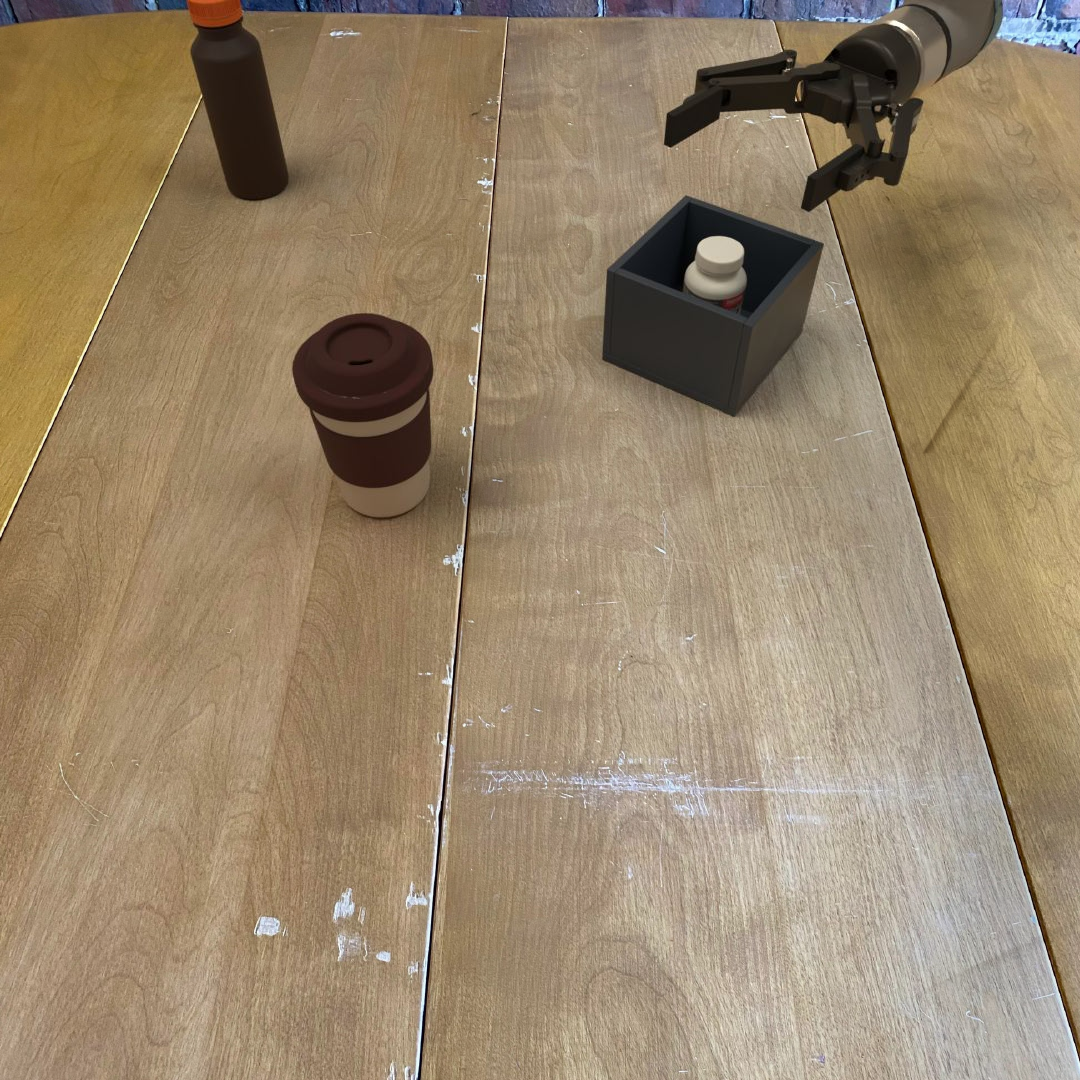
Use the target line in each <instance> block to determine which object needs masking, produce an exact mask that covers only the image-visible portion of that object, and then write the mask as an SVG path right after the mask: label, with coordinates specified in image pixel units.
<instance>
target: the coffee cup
mask: <svg viewBox="0 0 1080 1080" xmlns="http://www.w3.org/2000/svg"><path fill="white" fill-rule="evenodd" d="M291 366H292V368H291V372H292V378H293V381H294V386H295V389H296V391H297V394H298V396H299V398H300V400H301V401H302V402H303V403H304V405H305V406H307V408H308V410H309V415H310V417H311V420H312V422H313V425H314V428H315V431H316V434H317V436H318V440H319V443H320V445H321V449H322V451H323V453H324V457H325V460H326V462H327V464H328V467H329V469H330V470H331V472H333V474H334V476H335V480H336V483H337V485H338V488H339V491H340V494H341V496H342V498H343V500H344V501H345V503H346V504H347V505H348V506H349V507H350V508H351V509H352V510H354V511H355V512H357V513H359V514H361V515H363V516H368V517H372V518H392V517H397V516H400V515H403V514H405V513H407V512H409V511H411V510H413V508H415V507H417V506H418V505H419V504H420V503H421V502H422V501H423V499H424V498H425V497H426V495H427V493H428V491H429V489H430V485H431V484H430V483H431V467H430V456H431V452H432V423H431V419H432V418H431V395H430V387H431V384H432V381H433V377H434V360H433V353H432V348H431V346H430V344H429V342H428V340H427V339H426V338H425V337H424V335H423V334H422V333H421V332H419V331H418V330H417V329H415V328H414V327H413V326H412V325H409V324H407V323H404V322H402V321H400V320H396V319H393V318H390V317H387V316H385V315H383V314H378V313H370V312H359V313H351V314H347V315H346V314H345V315H344V316H340V317H338V318H335V319H332V320H331V321H329V322H327V323H326V324H325V325H323V326H322V327H320V329H318V330H317V331H316V332H314V333H313V334H311V335H310V336H309V337H308V338H307V339H306V340H304V341H303V343H302V344H301V345H300V346H299V348H298V349H297V351H296V353H295V355H294V358H293V360H292V365H291Z"/></svg>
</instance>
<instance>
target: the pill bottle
mask: <svg viewBox="0 0 1080 1080" xmlns="http://www.w3.org/2000/svg"><path fill="white" fill-rule="evenodd" d="M743 258H744V248H743V246H742V245H741V244H740V243H739V242H738V241H736V240H734V239H732V238H729V237H723V236H713V237H708V238H706V239H703V240H702V241H701V242H700V243H699V244H698V247H697V251H696V256H695V261H694V262H692V263H691V264H690V265H689V267H688V268H687V270H686V273H685V278H684V287H683V293H685V294H687V295H690V296H693V297H695V298H698V299H700V300H703V301H705V302H708V303H710V304H713V305H716V306H718V307H721V308H723V309H726V310H728V311H731V312H733V313H736V314H739V315H741V309H742V304H743V299H744V294H745V289H746V283H747V277H746V273H745V271H744V269H743V268H742V264H743Z"/></svg>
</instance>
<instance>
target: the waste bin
mask: <svg viewBox="0 0 1080 1080" xmlns="http://www.w3.org/2000/svg"><path fill="white" fill-rule="evenodd" d="M713 236H723V237H729V238H732V239H734V240H736V241H738V242H739V243H740V244H741V245H742V246H743V248H744V258H743V264H742V268H743V269H744V271H745V273H746V277H747V283H746V289H745V294H744V299H743V304H742V309H741V315H739V314H736V313H733V312H731V311H728V310H726V309H723V308H721V307H718V306H716V305H713V304H710V303H708V302H705V301H703V300H700V299H698V298H695V297H693V296H690V295H687V294H685V293H683V287H684V278H685V273H686V270H687V268H688V267H689V265H690V264H691V263H692V262H694V261H695V256H696V251H697V247H698V244H699V243H700V242H701V241H702V240H703V239H706V238H708V237H713ZM824 246H825V243H824V242H821V241H819V240H815V239H813V238H810V237H807V236H804V235H801V234H798V233H796V232H793V231H790V230H787V229H784V228H782V227H778V226H776V225H773V224H770V223H767V222H764V221H762V220H759V219H757V218H752V217H749V216H748V215H744V214H741V213H739V212H735V211H733V210H729V209H727V208H723V207H722V206H718V205H716V204H713V203H710V202H707V201H705V200H701V199H698V198H696V197H693V196H689V195H684V196H683V197H682V198H681V199H680V200H679V201H678V202H677V203H675V204H674V206H672V207H671V208H670V209H669V210H668V211H667V212H666V213H665V214H664V215H663V216H662V217H661V218H660V219H658V220H657V221H656V222H655V223H654V224H653V225H652V226H651V227H650V228H649V229H648V230H646V231H645V233H643V235H642V236H640V237H639V238H638V239H637V240H636V241H635V242H634V243H633V244H632V245H631V246H630V247H629V248H627V250H626V251H624V253H623V254H622V255H621V256H619V257H618V258H617V259H616V260H615V261H614V262H613V263H611V264H610V266H608V268H606V280H605V281H606V283H605V296H604V297H605V298H604V315H603V316H604V317H603V320H604V321H603V332H602V335H603V337H602V356H601V359H602V360H603V361H606V362H608V363H610V364H612V365H615V366H617V367H619V368H621V369H623V370H625V371H629V372H630V373H632V374H635V375H637V376H639V377H642V378H644V379H646V380H649V381H651V382H654V383H656V384H658V385H660V386H662V387H665V388H667V389H669V390H672V391H674V392H677V393H679V394H681V395H683V396H686V397H688V398H690V399H692V400H695V401H698V402H699V403H702V404H705V405H706V406H709V407H712V408H713V409H716V410H719V411H720V412H723V413H725V414H727V415H729V416H732V417H736V416H737V414H739V412H740V411H741V410H742V408H743V407H744V406H745V405H746V404H747V402H748V401H749V400H750V398H752V396H753V395H754V394H755V392H756V391H757V390H758V389H759V387H760V386H761V385H762V383H764V381H765V380H766V379H767V377H768V376H769V375H770V374H771V372H772V371H773V370H774V368H775V367H776V366H777V365H778V364H779V363H780V361H781V360H782V358H783V357H784V356H785V355H786V354H787V353H788V351H789V350H790V349H791V347H792V346H793V345H794V344H795V342H796V341H797V340H798V338H800V336H801V335H802V334H803V329H804V326H805V323H806V322H805V321H806V318H807V314H808V311H809V305H810V302H811V298H812V293H813V290H814V286H815V282H816V279H817V273H818V270H819V266H820V262H821V257H822V253H823V249H824Z"/></svg>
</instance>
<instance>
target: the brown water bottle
mask: <svg viewBox="0 0 1080 1080" xmlns="http://www.w3.org/2000/svg"><path fill="white" fill-rule="evenodd" d="M186 4H187V7H188V12H189V17H190V20H191V21H192V25H193V26H194V28H195V29H197V32H198V33H197V35H196V36H195V38H194V39H193V41H192V44H191V45H190V51H189V52H190V57H191V60H192V65H193V68H194V71H195V75H196V78H197V83H198V86H199V90H200V93H201V97H202V100H203V104H204V109H205V112H206V115H207V118H208V123H209V126H210V130H211V134H212V136H213V140H214V143H215V144H214V145H215V147H216V151H217V154H218V158H219V161H220V165H221V169H222V172H223V177H224V180H225V183H226V186H227V189H228V191H229V192H230V193H231V194H232V195H234V196H236V197H239V198H242V199H246V200H262V199H267V198H270V197H272V196H275V195H277V194H279V193H280V192H282V191H283V190H284V189H286V187H287V185H288V184H289V179H290V178H289V177H290V175H289V170H288V165H287V160H286V158H285V152H284V148H283V143H282V138H281V133H280V130H279V125H278V120H277V116H276V111H275V107H274V103H273V102H274V101H273V98H272V93H271V88H270V84H269V80H268V79H269V78H268V76H267V71H266V67H265V61H264V57H263V52H262V48H261V44H260V42H259V40H258V39H257V37H256V36H255V35H254V34H252V32H250V31H249V30H248V29H246V28H244V26H243V22H244V15H243V14H244V13H243V7H242V4H241V0H186Z"/></svg>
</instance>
